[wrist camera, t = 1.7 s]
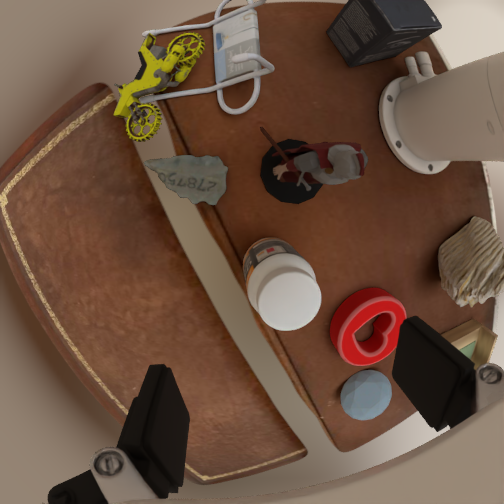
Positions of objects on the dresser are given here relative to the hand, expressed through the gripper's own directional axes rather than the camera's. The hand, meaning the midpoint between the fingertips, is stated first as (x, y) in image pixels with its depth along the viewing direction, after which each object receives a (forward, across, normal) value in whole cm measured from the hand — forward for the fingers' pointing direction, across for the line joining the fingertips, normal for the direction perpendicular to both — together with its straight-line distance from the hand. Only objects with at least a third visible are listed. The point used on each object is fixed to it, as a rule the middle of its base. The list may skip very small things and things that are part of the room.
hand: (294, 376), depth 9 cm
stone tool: (+18, +4, -11) cm, 22 cm away
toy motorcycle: (+16, +4, -17) cm, 23 cm away
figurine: (+19, -5, -8) cm, 22 cm away
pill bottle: (+19, -2, +1) cm, 19 cm away
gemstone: (+19, -13, +22) cm, 32 cm away
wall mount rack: (+19, 0, -22) cm, 29 cm away
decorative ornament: (+19, -13, +11) cm, 26 cm away
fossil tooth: (+19, -29, +4) cm, 35 cm away
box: (+19, -16, -23) cm, 34 cm away
